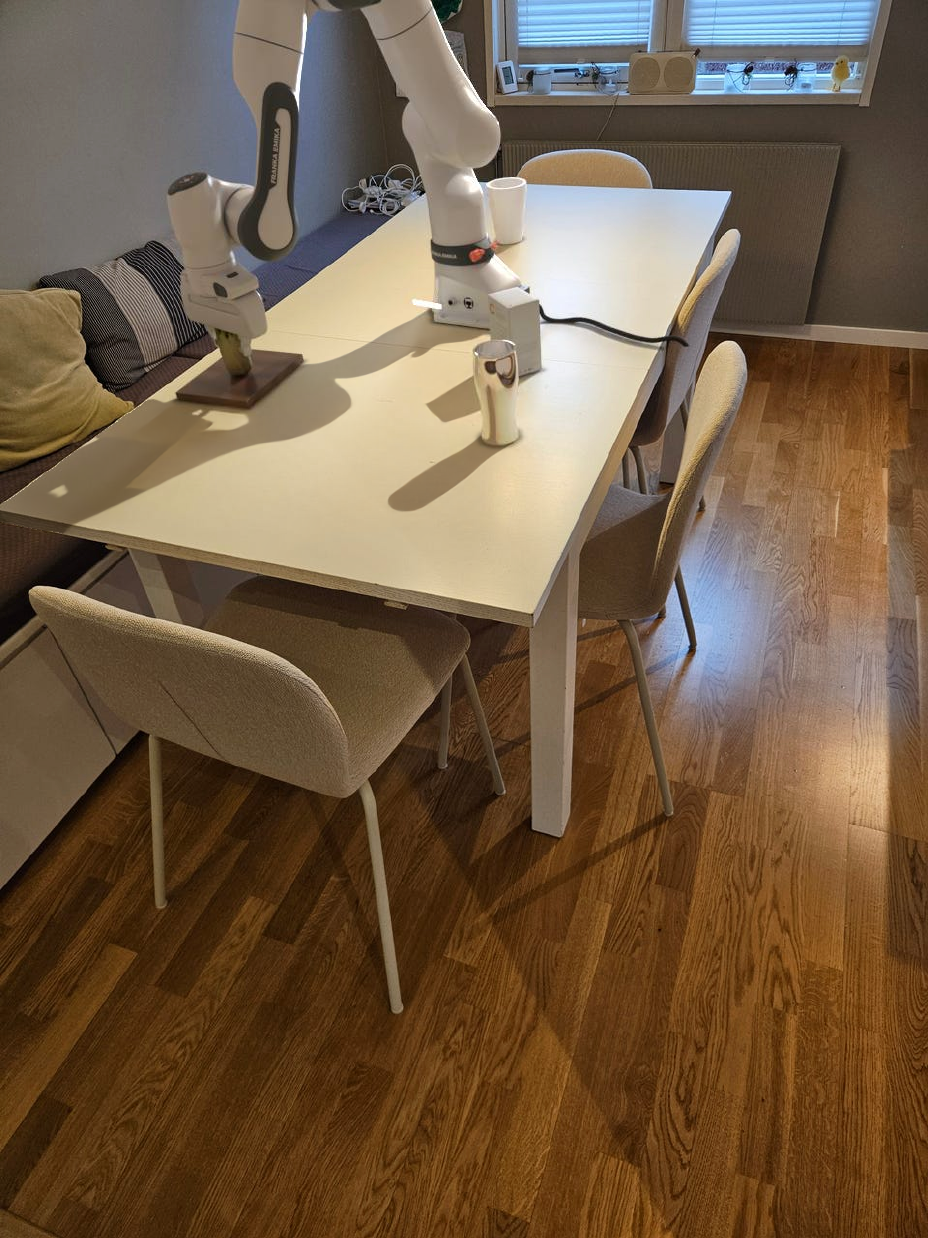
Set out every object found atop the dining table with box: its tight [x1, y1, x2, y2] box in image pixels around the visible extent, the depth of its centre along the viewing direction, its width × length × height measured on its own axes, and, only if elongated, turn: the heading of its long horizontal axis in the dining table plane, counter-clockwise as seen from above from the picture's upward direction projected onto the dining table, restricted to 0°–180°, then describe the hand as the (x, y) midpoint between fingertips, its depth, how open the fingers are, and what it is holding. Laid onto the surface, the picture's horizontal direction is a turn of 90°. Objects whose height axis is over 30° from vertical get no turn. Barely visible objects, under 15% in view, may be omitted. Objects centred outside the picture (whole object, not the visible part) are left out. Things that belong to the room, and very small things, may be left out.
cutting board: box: [174, 348, 305, 410], centre depth 166 cm, size 20×16×2 cm
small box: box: [488, 287, 543, 378], centre depth 156 cm, size 8×6×13 cm
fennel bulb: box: [214, 328, 252, 376], centre depth 162 cm, size 6×5×12 cm
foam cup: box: [485, 176, 528, 245], centre depth 209 cm, size 10×9×13 cm
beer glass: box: [472, 339, 520, 446], centre depth 136 cm, size 7×7×15 cm
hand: (233, 350), depth 163 cm, fingers closed on fennel bulb, 6 cm apart
